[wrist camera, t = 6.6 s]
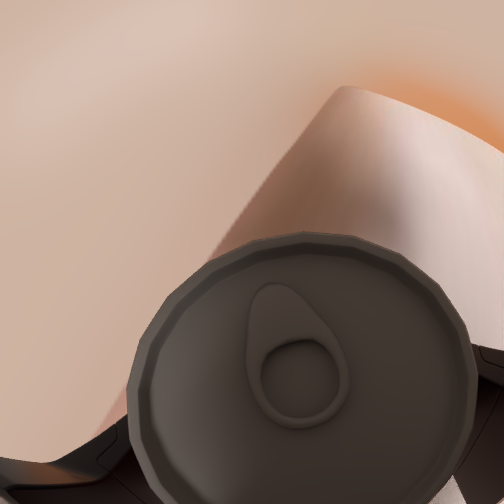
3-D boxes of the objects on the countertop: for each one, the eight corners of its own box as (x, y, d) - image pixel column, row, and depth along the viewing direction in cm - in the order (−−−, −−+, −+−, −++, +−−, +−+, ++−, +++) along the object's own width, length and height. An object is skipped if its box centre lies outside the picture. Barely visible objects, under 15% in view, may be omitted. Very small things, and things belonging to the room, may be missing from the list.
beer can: (335, 330, 15) (396, 171, 5) (372, 431, 11) (527, 459, 1) (227, 365, 15) (89, 269, 5) (257, 469, 11) (162, 588, 1)
